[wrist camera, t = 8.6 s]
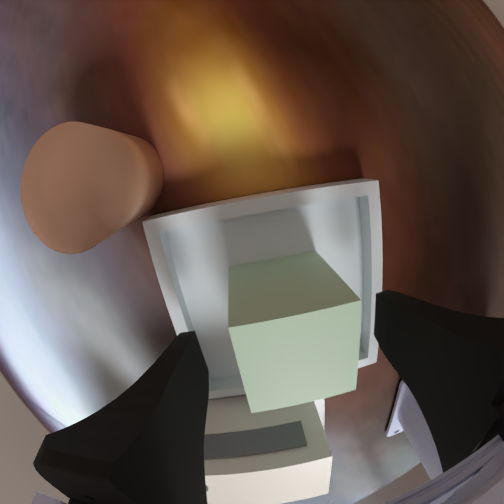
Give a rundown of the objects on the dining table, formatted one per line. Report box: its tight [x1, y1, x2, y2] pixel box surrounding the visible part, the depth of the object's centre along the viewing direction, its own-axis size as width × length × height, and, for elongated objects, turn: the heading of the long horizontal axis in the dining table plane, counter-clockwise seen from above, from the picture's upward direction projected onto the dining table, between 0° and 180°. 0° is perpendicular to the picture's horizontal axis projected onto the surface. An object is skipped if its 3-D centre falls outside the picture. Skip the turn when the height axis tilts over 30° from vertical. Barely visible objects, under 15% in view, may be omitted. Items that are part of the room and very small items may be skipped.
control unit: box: [204, 394, 332, 504], centre depth 13 cm, size 10×8×6 cm
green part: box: [228, 251, 361, 413], centre depth 11 cm, size 4×4×5 cm
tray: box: [142, 178, 383, 399], centre depth 13 cm, size 10×10×1 cm
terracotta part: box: [21, 121, 164, 254], centre depth 9 cm, size 4×4×5 cm
